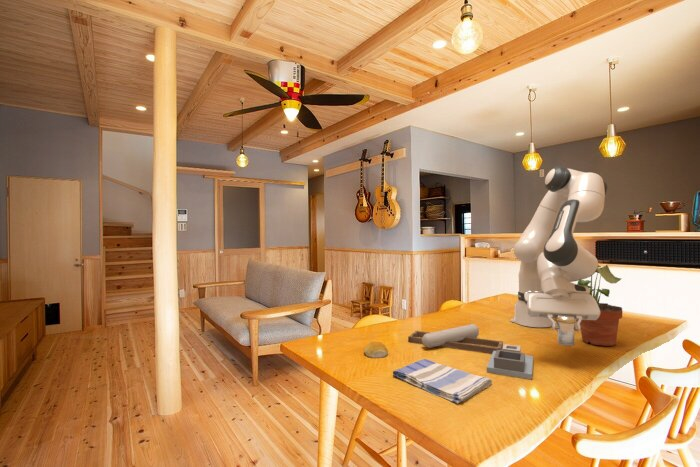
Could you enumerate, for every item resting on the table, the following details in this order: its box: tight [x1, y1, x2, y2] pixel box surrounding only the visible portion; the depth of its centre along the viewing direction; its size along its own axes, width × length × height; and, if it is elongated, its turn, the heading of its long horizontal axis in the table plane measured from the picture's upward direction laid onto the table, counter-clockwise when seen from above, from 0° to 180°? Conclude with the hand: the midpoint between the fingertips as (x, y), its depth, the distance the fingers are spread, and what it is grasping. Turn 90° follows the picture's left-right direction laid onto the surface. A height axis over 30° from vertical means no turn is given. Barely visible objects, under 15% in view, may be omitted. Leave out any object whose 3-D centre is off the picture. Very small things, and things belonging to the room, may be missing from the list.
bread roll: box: [363, 341, 389, 359], centre depth 121 cm, size 8×9×4 cm
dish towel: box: [392, 358, 493, 405], centre depth 98 cm, size 17×24×3 cm
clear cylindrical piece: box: [556, 315, 576, 347], centre depth 106 cm, size 5×5×8 cm
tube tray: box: [407, 330, 504, 355], centre depth 129 cm, size 9×33×2 cm, turn 60°
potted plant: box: [577, 264, 623, 347], centre depth 125 cm, size 16×15×35 cm
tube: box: [421, 323, 480, 349], centre depth 129 cm, size 5×5×25 cm
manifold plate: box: [486, 343, 534, 381], centre depth 107 cm, size 16×12×4 cm
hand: (566, 329), depth 105 cm, fingers closed on clear cylindrical piece, 4 cm apart
